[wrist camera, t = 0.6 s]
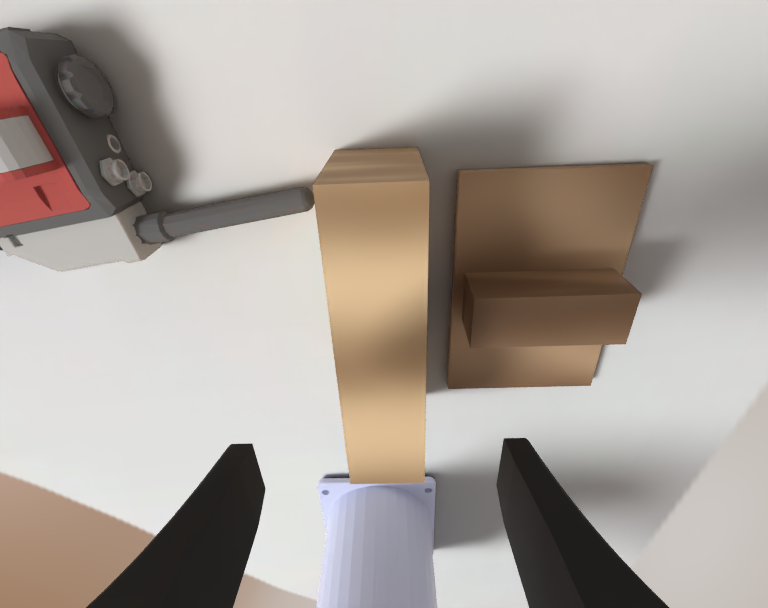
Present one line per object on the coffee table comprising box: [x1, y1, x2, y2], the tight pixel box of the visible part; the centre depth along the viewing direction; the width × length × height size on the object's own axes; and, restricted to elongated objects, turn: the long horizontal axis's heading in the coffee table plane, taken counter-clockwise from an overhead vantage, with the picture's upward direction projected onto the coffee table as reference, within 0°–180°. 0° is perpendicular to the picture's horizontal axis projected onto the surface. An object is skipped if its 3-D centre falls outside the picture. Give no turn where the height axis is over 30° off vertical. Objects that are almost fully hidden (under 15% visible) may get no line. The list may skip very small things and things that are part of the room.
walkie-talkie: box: [0, 27, 315, 272], centre depth 16 cm, size 9×4×20 cm
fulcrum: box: [447, 163, 653, 389], centre depth 19 cm, size 12×8×3 cm, turn 2°
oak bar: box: [313, 147, 430, 484], centre depth 18 cm, size 14×4×6 cm, turn 2°
